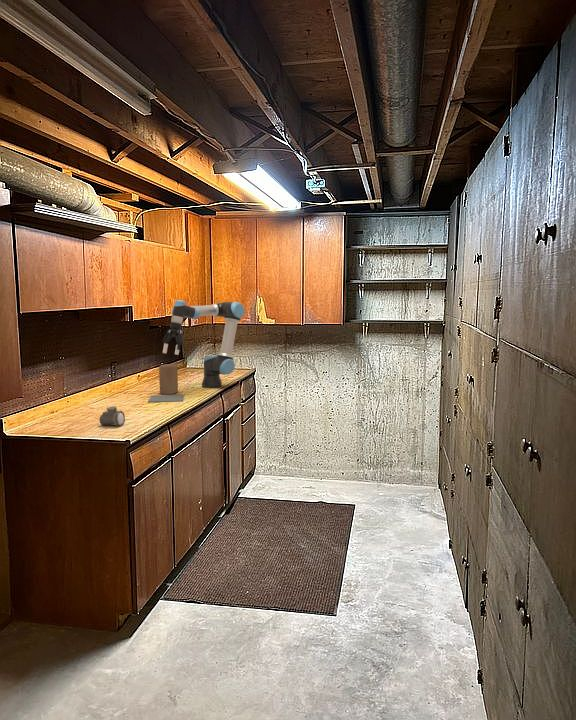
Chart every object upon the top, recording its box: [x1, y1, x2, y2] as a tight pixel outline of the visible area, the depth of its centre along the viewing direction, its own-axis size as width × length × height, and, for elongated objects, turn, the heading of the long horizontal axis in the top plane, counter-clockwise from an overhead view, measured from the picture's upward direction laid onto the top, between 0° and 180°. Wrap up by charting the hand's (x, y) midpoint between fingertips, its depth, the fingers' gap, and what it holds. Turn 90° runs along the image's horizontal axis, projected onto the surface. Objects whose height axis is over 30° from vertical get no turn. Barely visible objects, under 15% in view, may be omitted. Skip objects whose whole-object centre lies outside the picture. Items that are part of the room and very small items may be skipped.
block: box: [158, 363, 179, 395], centre depth 386 cm, size 10×10×20 cm
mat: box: [147, 394, 185, 403], centre depth 366 cm, size 22×22×1 cm
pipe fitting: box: [99, 405, 126, 427], centre depth 291 cm, size 12×8×10 cm
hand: (170, 353), depth 371 cm, fingers open, 13 cm apart
